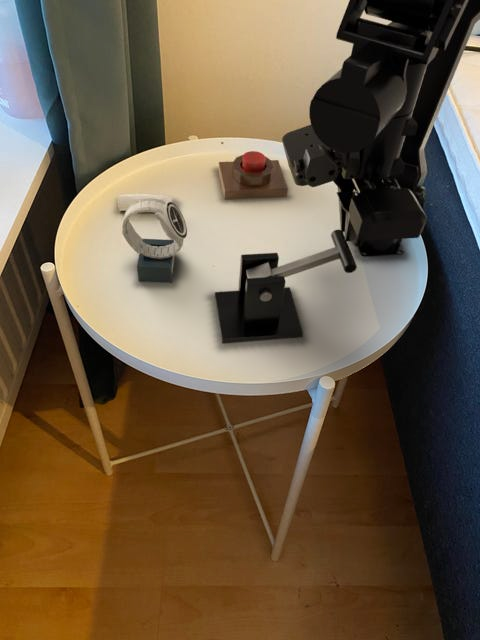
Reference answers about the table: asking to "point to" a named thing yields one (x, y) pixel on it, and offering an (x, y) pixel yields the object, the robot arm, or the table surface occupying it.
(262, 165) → the button
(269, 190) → the button block
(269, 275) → the lever
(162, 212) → the watch
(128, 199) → the white curved plate
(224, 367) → the table surface
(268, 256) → the bracket
